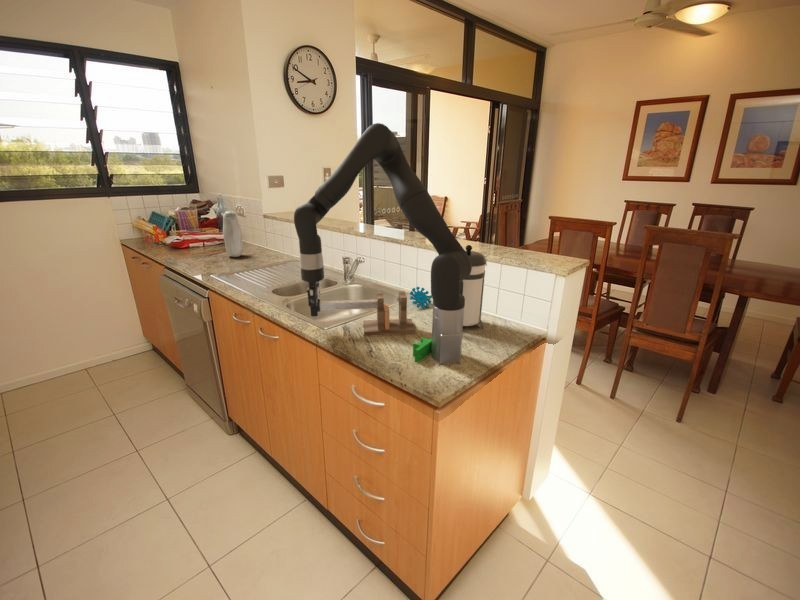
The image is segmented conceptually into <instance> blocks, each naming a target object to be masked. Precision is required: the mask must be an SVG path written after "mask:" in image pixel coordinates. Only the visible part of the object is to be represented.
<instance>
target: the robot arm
mask: <svg viewBox="0 0 800 600" xmlns="http://www.w3.org/2000/svg"><path fill="white" fill-rule="evenodd" d="M402 149H403V148H402V145H400V142H399V140H398V138H397V136H396V134H394V133H393V131H392V129H390V128H389V127H388V126H387V125H385V124H384V123H380V122H377V123H376V122H375V123H373V124H370V125H369V126H368V127H367V128H366V129H365V131H364V132H363V133H362V134H361V135H360V137H359V138H358V140H357V141H356V143H355V144H354V145H353V147H352V148H351V150H350V151H349V153H348V154H346V157H345V158H344V159H343V160H342V161H341V163H340V164H339V166H338V167H337V168H336V169H335V170H334V171H333V173H332V174H331V175H330V176H328V178H327V179H326V180H324V182H323V183H322V184H321V185H320V186H319V187H318V188H317V189H316V190H315V192H314V195H313V196H312V197H311V198H310V199H309V200H308V201H306V203H304V204H302V205H299V206H298V207H297V208H296V209H295V210H294V213H293V222H294V227H295V230H296V231H295V232H296V235H297V238H298V245H299V266H300V267H299V268H300V279H301V281H303V282H307V286H306V292H307V298H308V299H307V302H308V305H307V306H308V307H310V316H311V317H318V315H319V312H318V310H317V305H318V303H317V300H320V294H321V289H320V288H321V283H320V282H321V281H323V280H324V279H325V270H324V269H325V267H324V256H323V251H322V250H323V249H322V247H323V246H322V238H321V236H320V235H319V234H318V228H317V224H318V223H319V222H321V220H322V219H324V217H325V216H327V214H328V213H329V211H330V210H331V209H332V208H333V207H334V206H336V205H337V204H338V203H339V202H340V201H342V199H343V198H344V197H345V196H346V195H347V193H349V192H350V190H351V188H352V186H353V185H354V182H355V181H356V179H357V177H358V176H359V174H360V173H361V172H362V170H363V169H364V168H365V167H366V166H367V165H368V164H369V163H371V162H372V161H374V160H375V161H376V162H377V163H378V165H379V167H381V169H382V170H383V171H384V174H386V176H387V178H388V179H389V181H390V183H391V187H392V190H393V191H392V192H393V194H394V198H395V199H396V202H397V205H398V207H399V208H400V209H401V212H402V213H403V215H404V217H405V219H406V220H407V222H408V224H410V225H411V226H412V228H414V229H415V230H416V231H417V232H418V233H419V234H420V235H422V236H423V237H424V238H425V239H426V240H428V241H429V242H430V244H431V245H432V246H433V248H434V249H435V251H436V252H437V254H438V255H437V256H435V258H434V259H433V261H432V262H431V268H430V295H432V298H431V299H432V319H431V320H432V322H431V324H432V327H431V338H432V346H431V354H430V356H431V359H433V361H435V362H437V363H438V364H440V365H445V364H446V363H447V364H446V365H448V363H449V364H459V363H460V360H461V359H462V358H461V357H462V343H463V334H464V333H463V332H464V331H463V329H464V326H463V318H464V306H465V298H464V296H463V295H462V294H460V292H459V289H460V281H462V280H464V279H465V278H467V277H468V276H469V275H470V273H471V270H472V264H471V260H470V258H469V256H468V254H467V253H466V251H467V250H466V249H464V247H463V246H462V245H461V243H460V242H459V240H458V239H457V238H456V237H455V235H454V234H453V233H452V231H451V229H450V228H449V225H448V224H447V223H446V221H445V219H444V217H443V216H442V214H441V212H440V210H439V209H438V208H437V206H436V204H435V202H434V200H433V198H432V197H431V194H430V193H429V192H428V189H426V187H425V186H424V184H423V182H422V181H421V179H420V178H419V177H418V175H417V174H416V172H415V171H414V170H413V169H412V167H411V166H410V164H409V162H408V159H407V158H406V156H405V153H404V151H403V150H402ZM311 300H314V301H315V303H311Z"/></svg>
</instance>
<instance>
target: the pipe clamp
mask: <svg viewBox="0 0 800 600" xmlns="http://www.w3.org/2000/svg"><path fill="white" fill-rule="evenodd" d="M431 346H432V337H431V338H425V337H420V342H413V343H412V357H414V363H415V362H419V361H420V362H422V361H423V360H425V358H427V357H428V356H430V355H431V354H430V353H431ZM426 356H427V357H426ZM422 359H423V360H422ZM421 360H422V361H421ZM420 362H419V363H420Z"/></svg>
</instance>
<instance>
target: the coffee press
mask: <svg viewBox="0 0 800 600" xmlns="http://www.w3.org/2000/svg"><path fill="white" fill-rule="evenodd" d="M472 249H473V247H472V245H471V244H467V245H466V246H465V251H466V253H467V254H468V256H469V258H470V260H471V264H472V270H471V273H470V275H469V276H468V277H467V278H465V279H464V280H462V281H460V289H459V292H460V294H462V295H463V296H464V298H465V306H464V318H463V327H472V326H474V325H476V327H478V328H479V329H483V327H484V323H483V321H482V312H483V298H484V297H483V296H484V286H485V276H486V270H485V268H486V267H487V266H488V263H487V259H486V256H485V255H484V254H483V253H482V252H479V251H474V250H472ZM479 323H480V324H479Z"/></svg>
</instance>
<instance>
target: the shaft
mask: <svg viewBox="0 0 800 600" xmlns="http://www.w3.org/2000/svg"><path fill="white" fill-rule="evenodd" d="M311 303H315V301H314V300H311ZM317 303H318V305H317V310H318V313H319V312H321V311H328V310H329V311H334V310H335V311H336V310H358V309H359V310H361V309H362V310H363V309H366V310H367V309H377V308H378V301H377V298H375V299H373V298H372V299H350V300H349V299H345V300H342V299H340V300H321V299H319V300H317Z"/></svg>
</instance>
